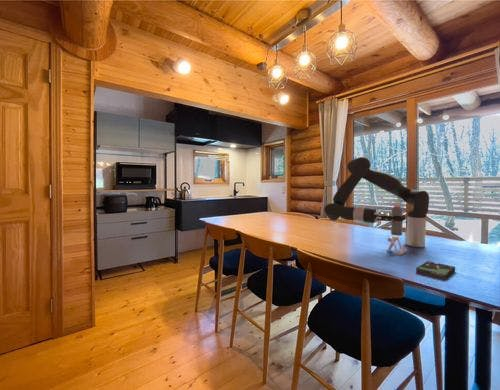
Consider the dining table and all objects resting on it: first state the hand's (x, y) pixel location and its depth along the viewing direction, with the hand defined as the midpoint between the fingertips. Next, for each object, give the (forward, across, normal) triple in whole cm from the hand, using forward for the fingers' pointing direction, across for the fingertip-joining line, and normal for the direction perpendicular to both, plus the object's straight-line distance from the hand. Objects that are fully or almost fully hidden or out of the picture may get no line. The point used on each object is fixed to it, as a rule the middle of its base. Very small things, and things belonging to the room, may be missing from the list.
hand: (403, 218), depth 114 cm
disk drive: (+13, -1, +23) cm, 26 cm away
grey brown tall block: (-3, 0, +8) cm, 8 cm away
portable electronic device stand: (-6, +21, +22) cm, 31 cm away
